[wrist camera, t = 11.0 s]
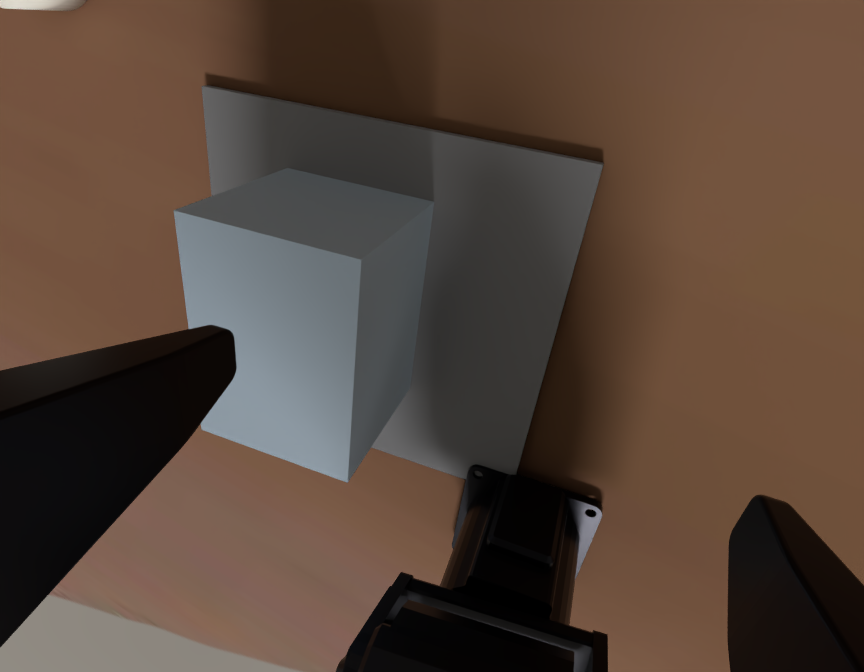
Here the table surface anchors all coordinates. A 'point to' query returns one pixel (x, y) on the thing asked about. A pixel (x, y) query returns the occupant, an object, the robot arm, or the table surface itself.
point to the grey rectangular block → (308, 310)
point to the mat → (441, 258)
